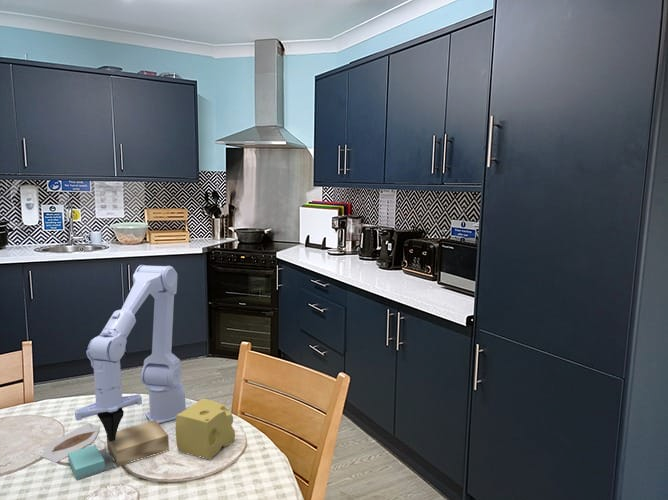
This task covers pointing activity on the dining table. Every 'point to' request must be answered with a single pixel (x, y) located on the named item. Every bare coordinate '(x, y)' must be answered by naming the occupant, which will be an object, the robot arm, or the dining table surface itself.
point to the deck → (138, 442)
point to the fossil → (70, 442)
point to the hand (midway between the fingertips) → (111, 439)
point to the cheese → (204, 429)
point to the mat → (108, 464)
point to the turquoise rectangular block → (86, 461)
